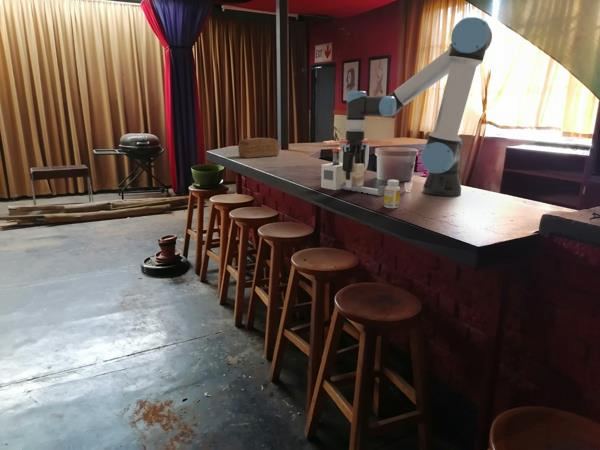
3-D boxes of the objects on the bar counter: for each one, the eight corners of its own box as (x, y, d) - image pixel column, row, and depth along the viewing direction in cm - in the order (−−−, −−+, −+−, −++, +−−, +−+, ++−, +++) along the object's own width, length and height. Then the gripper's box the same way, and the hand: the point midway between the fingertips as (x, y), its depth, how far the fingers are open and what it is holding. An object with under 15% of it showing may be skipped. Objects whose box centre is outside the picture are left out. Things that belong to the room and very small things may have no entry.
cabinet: (349, 186, 191) (350, 164, 188) (335, 190, 184) (335, 166, 181) (335, 184, 196) (335, 162, 193) (320, 187, 189) (321, 164, 186)
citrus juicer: (335, 176, 215) (336, 136, 210) (340, 171, 232) (341, 133, 226) (366, 178, 212) (368, 137, 206) (369, 172, 228) (371, 134, 222)
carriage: (363, 185, 183) (364, 164, 180) (356, 186, 179) (357, 165, 177) (350, 183, 187) (350, 162, 185) (342, 184, 184) (343, 163, 181)
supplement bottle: (386, 208, 153) (387, 182, 151) (382, 205, 158) (383, 179, 156) (401, 208, 154) (402, 181, 151) (396, 204, 159) (398, 179, 156)
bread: (235, 156, 288) (234, 138, 284) (271, 154, 304) (271, 136, 300) (245, 159, 277) (245, 139, 274) (282, 156, 293) (282, 137, 290)
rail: (384, 194, 176) (384, 186, 175) (379, 196, 173) (379, 187, 172) (345, 187, 189) (345, 179, 188) (340, 189, 186) (340, 180, 185)
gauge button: (341, 164, 187) (342, 148, 185) (336, 165, 185) (337, 148, 183) (335, 164, 190) (335, 147, 188) (330, 164, 187) (330, 148, 185)
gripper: (360, 128, 186) (358, 182, 192) (334, 131, 173) (332, 188, 179) (375, 129, 181) (372, 184, 187) (349, 132, 168) (347, 190, 174)
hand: (353, 186), depth 183 cm, fingers closed on carriage, 5 cm apart
